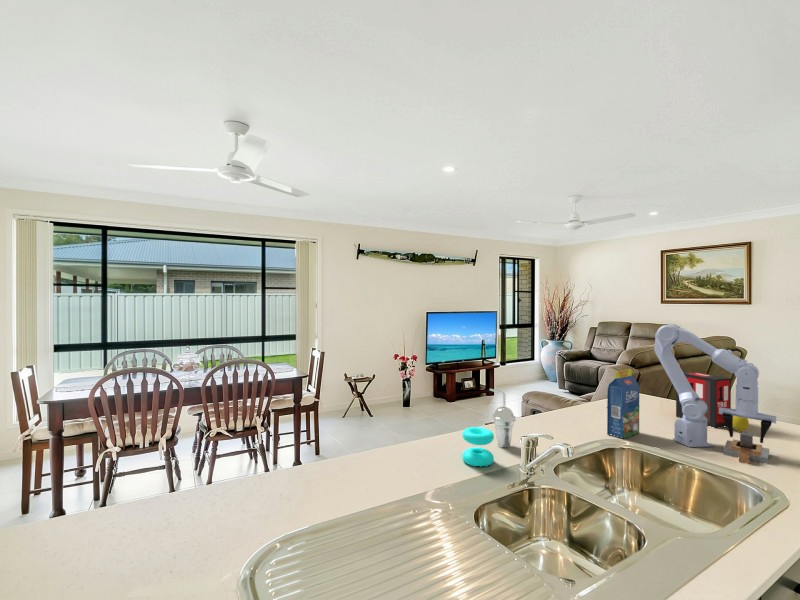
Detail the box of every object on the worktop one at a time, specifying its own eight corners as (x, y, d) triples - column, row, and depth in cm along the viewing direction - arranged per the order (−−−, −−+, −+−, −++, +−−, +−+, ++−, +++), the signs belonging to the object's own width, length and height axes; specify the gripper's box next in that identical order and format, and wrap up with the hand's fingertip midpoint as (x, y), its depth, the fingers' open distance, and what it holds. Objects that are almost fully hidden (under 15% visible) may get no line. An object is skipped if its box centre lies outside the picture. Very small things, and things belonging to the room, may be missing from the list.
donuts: (460, 434, 123) (464, 424, 132) (460, 466, 123) (463, 454, 132) (493, 437, 120) (494, 427, 129) (493, 470, 120) (494, 457, 130)
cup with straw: (506, 452, 134) (506, 393, 134) (485, 444, 141) (485, 389, 141) (520, 446, 139) (521, 390, 139) (499, 439, 146) (500, 385, 146)
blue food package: (639, 433, 153) (640, 370, 153) (623, 439, 146) (623, 373, 146) (623, 429, 158) (623, 367, 158) (606, 434, 152) (607, 370, 152)
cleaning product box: (730, 426, 163) (730, 378, 162) (715, 428, 160) (715, 379, 160) (690, 415, 178) (690, 371, 178) (676, 416, 176) (676, 372, 176)
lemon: (732, 433, 154) (732, 412, 154) (728, 428, 159) (728, 409, 159) (750, 435, 152) (750, 414, 152) (746, 431, 157) (746, 411, 156)
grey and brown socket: (767, 468, 122) (767, 458, 122) (721, 458, 130) (721, 449, 130) (769, 454, 133) (769, 445, 133) (727, 445, 141) (727, 437, 141)
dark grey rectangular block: (751, 457, 130) (752, 436, 130) (739, 454, 133) (740, 434, 133) (752, 454, 133) (752, 433, 133) (741, 451, 135) (741, 431, 135)
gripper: (776, 401, 130) (776, 441, 131) (720, 393, 141) (720, 431, 141) (776, 405, 125) (775, 447, 126) (718, 396, 136) (717, 435, 136)
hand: (746, 439), depth 133 cm, fingers open, 7 cm apart
